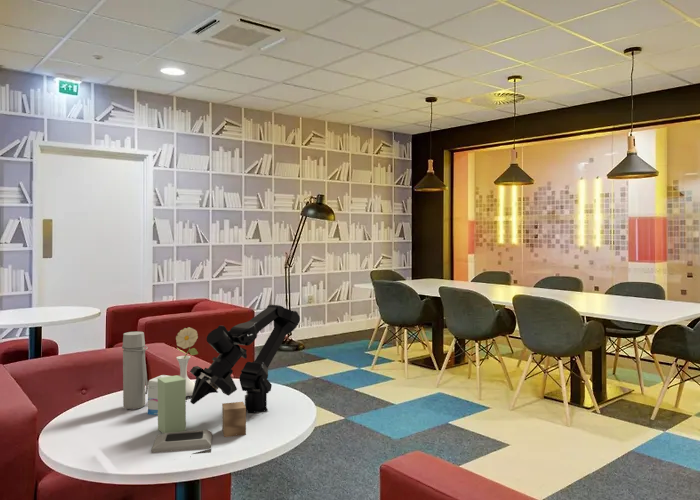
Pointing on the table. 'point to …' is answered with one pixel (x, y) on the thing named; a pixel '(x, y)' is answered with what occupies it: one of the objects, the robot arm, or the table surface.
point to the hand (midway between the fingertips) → (191, 403)
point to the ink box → (153, 395)
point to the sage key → (171, 404)
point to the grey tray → (183, 441)
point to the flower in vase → (185, 341)
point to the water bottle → (134, 370)
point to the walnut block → (233, 419)
